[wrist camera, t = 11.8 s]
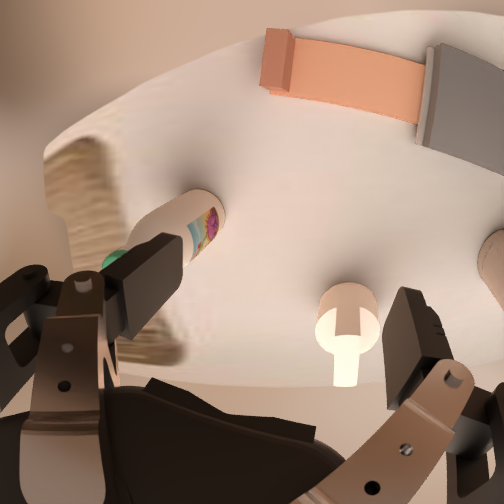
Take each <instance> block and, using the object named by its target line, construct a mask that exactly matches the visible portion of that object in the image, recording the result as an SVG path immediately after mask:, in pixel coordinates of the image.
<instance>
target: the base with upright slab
mask: <svg viewBox="0 0 504 504" xmlns="http://www.w3.org/2000/svg"><path fill="white" fill-rule="evenodd" d="M379 333H380V326H379V317H378V309H377V302H376V299H375V297H374V294H373V293H372V292H371V291H370V290H369V289H368V288H366V287H365V286H363V285H360V284H358V283H351V282H346V283H340V284H337V285H335V286H333V287H331V288H330V289H328V290H327V291H326V292H325V293H324V295H323V296H322V298H321V300H320V303H319V310H318V316H317V323H316V330H315V334H316V339H317V341H318V343H319V344H320V346H322V347H323V348H324V349H325V350H326V351H328V352H330V353H331V354H334V386H340V387H349V386H356V385H357V375H358V365H359V354H362V353H364V352H365V351H367V350H369V349H370V348H371V347H372V346H373V345H374V344H375V343H376V341H377V339H378V337H379Z"/></svg>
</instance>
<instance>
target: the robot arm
mask: <svg viewBox="0 0 504 504" xmlns="http://www.w3.org/2000/svg"><path fill="white" fill-rule="evenodd" d="M478 271H479V274H480V276H481V278H482V279H483V281H484V282H485V284H486V285H487V286H488V288H489V289H490V291H491V292H492V294H493V295H494V297H495V298H496V300H497V301H498V303H499V304H500V306H501V307H502V309H503V311H504V229H501V230H499V231H496V232H495V233H493V234H492V235H491V236H490V237H489V238H488V239H487V240H486V241H485V243H484V244H483V246H482V248H481V250H480V253H479V257H478ZM182 276H183V239H182V237H181V236H178V235H174V234H169V233H165V232H161V233H160V234H158V235H157V236H155V237H154V238H152V239H151V240H150V241H147V242H144V243H141V244H139V245H136V246H134V247H133V248H131V249H130V250H129V251H127V253H124V254H123V255H122V256H120V258H117V259H116V260H115V261H113V262H112V263H111V264H109V265H108V266H106V267H105V268H104V269H102V270H101V271H100V272H96V271H90V270H85V271H79V272H76V273H73V274H71V275H70V276H68V277H67V278H66V279H65V280H64V282H61V281H53V280H50V279H49V274H48V270H47V268H46V267H45V266H43V265H29V266H26V267H23V268H21V269H19V270H18V271H17V272H15V273H14V274H12V275H11V276H10V277H8V278H7V279H5V280H4V281H3V282H1V283H0V413H1V411H2V410H3V409H4V408H5V407H6V405H7V404H8V403H9V402H10V401H11V399H12V398H13V397H14V396H15V395H16V394H17V393H18V391H19V390H20V389H21V388H22V387H23V385H24V384H25V383H26V382H27V381H28V380H29V379H30V377H32V375H33V374H34V373H35V374H34V381H33V389H32V397H31V406H30V411H27V412H23V413H19V414H15V415H11V416H6V417H2V418H0V504H407V503H408V502H409V501H410V500H411V498H412V497H413V496H414V495H415V493H416V492H417V491H418V489H419V488H420V487H421V485H422V484H423V483H424V481H425V480H426V479H427V477H428V476H429V474H430V473H431V471H432V470H433V468H434V467H435V465H436V464H437V462H438V461H439V459H440V458H441V456H442V455H443V453H444V451H446V458H447V504H504V382H502V383H500V384H499V385H498V386H497V387H496V389H495V390H494V391H493V392H492V393H491V392H488V391H486V390H483V389H481V388H478V387H476V386H474V384H475V383H474V378H473V376H472V374H471V372H470V371H469V370H468V368H467V367H465V366H464V365H463V364H461V363H460V362H458V361H455V360H454V358H453V355H452V352H451V349H450V346H449V343H448V340H447V338H446V336H445V332H444V329H443V328H442V324H441V321H440V318H439V316H438V315H437V314H436V313H435V311H434V310H433V309H432V308H431V307H429V306H427V305H426V302H425V299H424V297H423V294H422V292H421V291H420V290H415V289H411V288H407V287H400V289H399V290H398V292H397V295H396V297H395V300H394V302H393V305H392V307H391V310H390V312H389V314H388V317H387V319H386V321H385V324H384V328H383V332H382V343H383V353H384V365H385V377H386V393H387V409H388V410H395V412H394V414H393V415H392V416H391V417H390V418H389V419H388V420H387V421H386V422H385V423H384V424H383V425H382V426H381V428H380V429H379V430H377V432H376V433H375V434H374V435H373V436H372V437H371V438H370V439H369V440H367V441H366V443H364V445H362V446H361V447H360V448H359V449H358V450H357V451H356V452H355V453H354V454H353V455H352V456H351V457H350V458H348V459H347V460H345V459H344V458H343V457H342V456H341V455H340V454H339V453H338V452H337V451H335V450H334V449H332V448H331V447H329V446H328V445H326V444H324V443H323V442H321V441H319V440H316V439H314V437H315V430H316V426H311V425H306V424H302V423H296V422H293V421H288V420H284V419H280V418H275V417H260V416H259V417H258V416H244V415H231V414H226V413H224V412H222V411H220V410H218V409H217V408H215V407H213V406H212V405H210V404H208V403H207V402H205V401H203V400H202V399H200V398H199V397H197V396H195V395H194V394H192V393H190V392H189V391H186V390H184V389H181V388H178V387H175V386H173V385H170V384H167V383H165V382H163V381H160V380H157V379H155V378H153V377H152V378H151V379H150V381H149V382H148V384H147V385H146V387H138V386H120V380H119V369H118V357H117V345H116V340H115V339H116V338H117V337H118V336H119V335H120V336H123V337H125V338H127V339H130V340H132V339H133V338H134V337H135V336H136V335H137V333H138V332H139V331H140V330H141V329H142V328H143V327H144V326H145V324H146V323H147V322H148V321H149V320H150V319H151V318H152V317H153V315H154V314H155V313H156V312H157V311H158V310H159V309H160V308H161V307H162V305H163V304H164V303H165V302H166V301H167V300H168V299H169V298H170V297H171V295H172V294H173V293H174V292H175V291H176V290H177V289H178V287H179V286H180V283H181V280H182ZM22 313H24V316H25V319H26V322H27V324H28V328H27V329H25V330H24V331H23V332H22V333H21V334H20V335H19V336H18V337H17V338H16V339H15V340H14V341H13V342H12V343H11V344H10V345H9V346H8V344H7V342H6V339H5V331H6V328H7V326H8V325H9V324H10V323H11V322H13V321H14V320H15V319H16V318H17V317H18V316H19V315H21V314H22ZM492 447H494V453H495V460H496V467H495V472H494V474H493V476H492V477H491V478H490V480H489V471H488V461H487V452H488V451H489V450H490V449H491V448H492Z"/></svg>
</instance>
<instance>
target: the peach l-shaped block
mask: <svg viewBox="0 0 504 504" xmlns="http://www.w3.org/2000/svg"><path fill="white" fill-rule="evenodd" d="M424 76H425V65H422V64H419V63H416V62H412V61H409V60H406V59H402V58H399V57H395V56H391V55H387V54H383V53H379V52H375V51H371V50H366V49H362V48H357V47H352V46H347V45H341V44H336V43H329V42H323V41H316V40H308V39H300V38H293V36H292V35H291V33H290V31H289V30H286V29H272V28H267V31H266V38H265V46H264V53H263V61H262V69H261V77H260V85H259V86H262V87H264V88H266V89H269V90H270V94H272V95H281V96H288V97H296V98H302V99H309V100H315V101H321V102H326V103H332V104H337V105H342V106H347V107H352V108H356V109H361V110H365V111H369V112H373V113H378V114H382V115H385V116H389V117H393V118H397V119H400V120H404V121H407V122H411V123H414V124H417V125H418V121H419V115H420V108H421V101H422V93H423V85H424Z"/></svg>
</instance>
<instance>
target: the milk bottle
mask: <svg viewBox="0 0 504 504" xmlns="http://www.w3.org/2000/svg"><path fill="white" fill-rule="evenodd" d="M224 222H225V214H224V209H223V207H222V204H221V203H220V201H219V200H218V199H217V198H216V197H215V196H214V195H213V194H211V193H210V192H208V191H205V190H200V189H195V190H191V191H188V192H186V193H184V194H182V195H180V196H179V197H177V198H175V199H173V200H171V201H169V202H167V203H166V204H164V205H162V206H160V207H159V208H157V209H155V210H154V211H152V212H150V213H149V214H147V215H146V216H145V217H143V218H142V219H141V220H140V221H139V222H138V223H137V224H136V226H135V227H134V229H133V230H132V232H131V234H130V237H129V239H128V242H127V244H126V245H125V247H121V248H119V249H117V250H116V251H114V252H113V253H111V254H110V255H108V256H107V257H106V258H105V260H104V261H103V264H102V269H104V268H105V267H106V266H108V265H109V264H111V263H112V262H113V261H115V260H116V259H117V258H120V256H122V255H123V254H124V253H127V251H129V250H130V249H131V248H133V247H134V246H136V245H139V244H141V243H144V242H147V241H150V240H151V239H152V238H154V237H155V236H157V235H158V234H160V233H161V232H165V233H169V234H174V235H178V236H181V237H182V239H183V267H185V266H186V265H187V264H188V263H189V262H190V261H191V260H192V259H194V258H195V257H196V256H197V255H198V254H199V253H200V252H201V251H202V250H203V249H204V248H205V247H206V246H207V245H208V244H209V243H210V242H211V241H212V240H213V239H214V238H215V237H216V236H217V235H218V234H219V233H220V231H221V230H222V228H223V226H224Z"/></svg>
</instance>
